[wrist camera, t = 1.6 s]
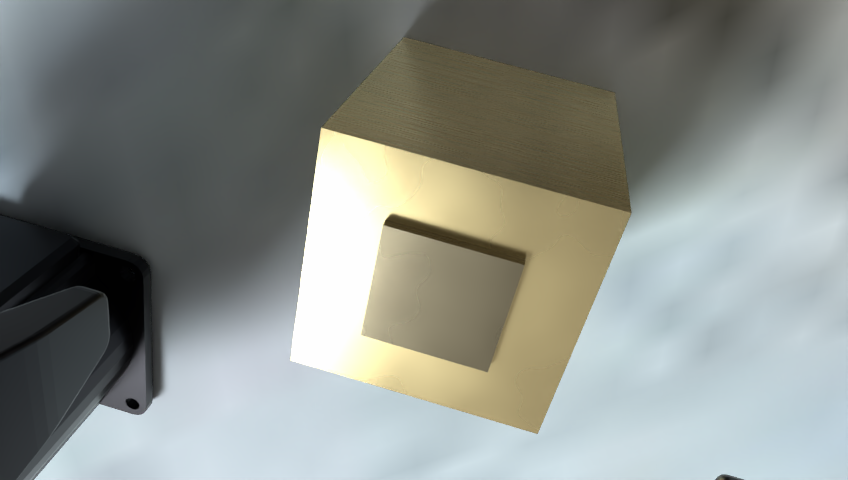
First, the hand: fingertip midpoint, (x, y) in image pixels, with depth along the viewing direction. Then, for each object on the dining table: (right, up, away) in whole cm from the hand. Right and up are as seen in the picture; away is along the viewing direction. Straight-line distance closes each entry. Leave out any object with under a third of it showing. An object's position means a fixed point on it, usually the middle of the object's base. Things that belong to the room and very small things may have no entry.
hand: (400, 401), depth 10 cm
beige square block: (+2, +4, +7) cm, 9 cm away
